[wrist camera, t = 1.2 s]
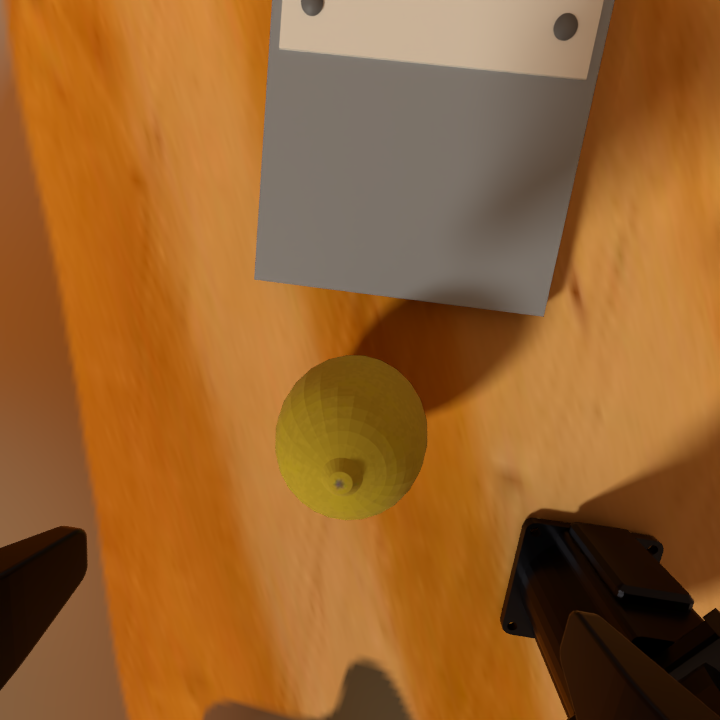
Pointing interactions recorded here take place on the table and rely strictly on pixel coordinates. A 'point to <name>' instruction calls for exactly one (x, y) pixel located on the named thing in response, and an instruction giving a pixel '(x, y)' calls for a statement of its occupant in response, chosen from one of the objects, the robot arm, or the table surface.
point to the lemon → (351, 437)
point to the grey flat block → (425, 145)
